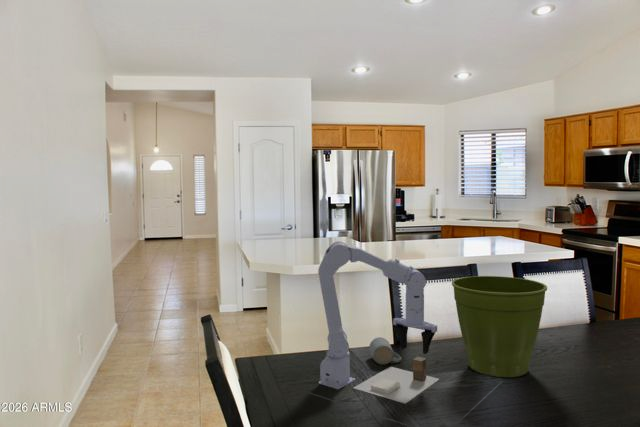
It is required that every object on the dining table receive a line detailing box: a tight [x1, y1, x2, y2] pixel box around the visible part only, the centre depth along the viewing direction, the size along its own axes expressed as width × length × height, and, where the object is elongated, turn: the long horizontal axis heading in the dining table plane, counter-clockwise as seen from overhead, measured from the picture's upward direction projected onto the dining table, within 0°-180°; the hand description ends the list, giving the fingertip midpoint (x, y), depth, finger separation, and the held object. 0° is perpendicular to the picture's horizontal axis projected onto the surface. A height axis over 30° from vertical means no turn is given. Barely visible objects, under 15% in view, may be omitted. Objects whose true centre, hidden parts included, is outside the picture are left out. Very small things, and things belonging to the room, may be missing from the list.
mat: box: [353, 366, 440, 405], centre depth 154 cm, size 22×18×1 cm
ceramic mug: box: [368, 336, 402, 365], centre depth 174 cm, size 11×8×8 cm
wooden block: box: [412, 356, 427, 382], centre depth 157 cm, size 3×3×6 cm
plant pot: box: [451, 275, 548, 378], centre depth 166 cm, size 30×30×29 cm
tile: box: [371, 378, 400, 394], centre depth 151 cm, size 1×6×7 cm
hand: (414, 350), depth 157 cm, fingers open, 7 cm apart
